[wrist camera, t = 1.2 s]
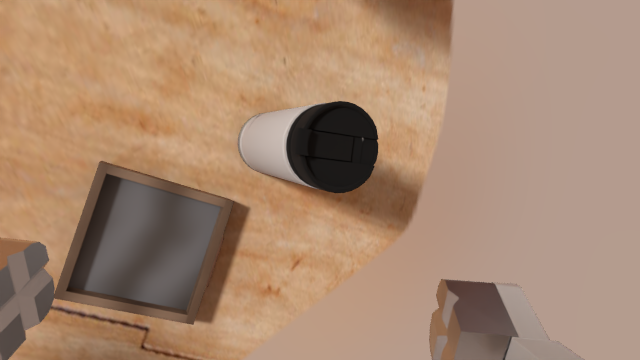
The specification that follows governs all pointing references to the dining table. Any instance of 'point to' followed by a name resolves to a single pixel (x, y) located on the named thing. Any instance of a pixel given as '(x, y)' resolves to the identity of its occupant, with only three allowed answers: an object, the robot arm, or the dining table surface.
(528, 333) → the robot arm
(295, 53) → the dining table surface
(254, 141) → the travel mug
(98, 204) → the square tray
